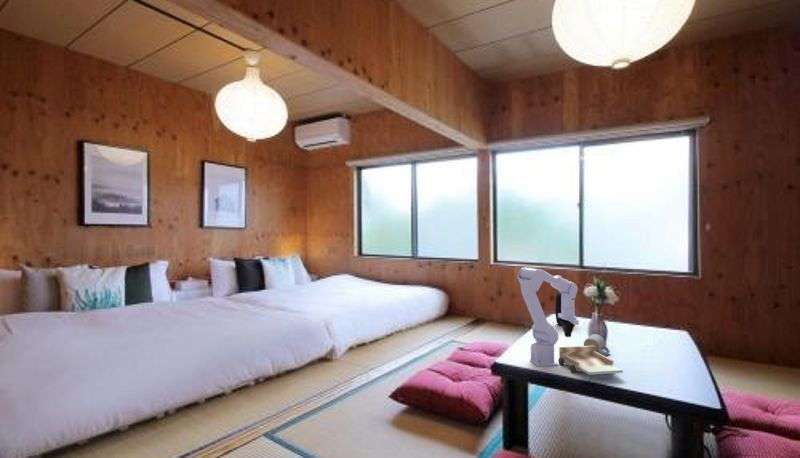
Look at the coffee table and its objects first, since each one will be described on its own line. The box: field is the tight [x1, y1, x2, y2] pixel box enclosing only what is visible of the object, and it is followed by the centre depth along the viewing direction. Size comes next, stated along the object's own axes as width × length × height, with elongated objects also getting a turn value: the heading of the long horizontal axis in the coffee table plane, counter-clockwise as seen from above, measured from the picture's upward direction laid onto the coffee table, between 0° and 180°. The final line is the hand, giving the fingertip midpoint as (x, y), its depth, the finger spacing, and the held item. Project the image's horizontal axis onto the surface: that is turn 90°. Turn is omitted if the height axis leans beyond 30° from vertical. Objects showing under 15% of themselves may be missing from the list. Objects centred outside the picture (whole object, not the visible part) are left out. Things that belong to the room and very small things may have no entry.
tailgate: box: [580, 364, 624, 376], centre depth 162 cm, size 14×1×6 cm
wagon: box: [557, 345, 614, 374], centre depth 173 cm, size 18×14×7 cm
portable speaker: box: [554, 291, 563, 326], centre depth 244 cm, size 9×9×20 cm
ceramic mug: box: [583, 333, 610, 356], centre depth 193 cm, size 11×8×8 cm
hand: (567, 336), depth 187 cm, fingers closed
